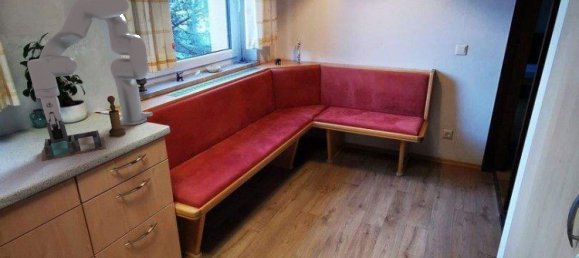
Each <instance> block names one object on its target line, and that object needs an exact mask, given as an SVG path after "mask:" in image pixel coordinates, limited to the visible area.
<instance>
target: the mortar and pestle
mask: <svg viewBox="0 0 579 258" xmlns="http://www.w3.org/2000/svg"><path fill="white" fill-rule="evenodd" d="M106 100H107V102H108V103H109V105H110V106H109V109H110V110H109V111H108V115H109V120H110V125H111V126H110V127H111V128H110V129H109V132H108V133H109V136H110V137H112V138H118V137H119V138H121V137H123V136H126V134H127V132H126V129H125V128H124V127H123V126H122V125H121V122H120V120H121V117H120V111H119V110H118V109H116V105H115V100H116V98H115V96H113V95H108V96H107V99H106Z"/></svg>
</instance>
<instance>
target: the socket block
mask: <svg viewBox="0 0 579 258" xmlns="http://www.w3.org/2000/svg"><path fill="white" fill-rule="evenodd" d="M67 136H68V139H69V142H67V141H63V142H57V143H51V140H50V138H45V139H44V144H43V149H42V154H41V155H42V156H41V161H42V162H46V161H49V160H55V159H59V158H65V157H69V156H74V155H80V154H85V153H90V152H95V151H100V150H101V151H102V150H104V149H105V150H106V149H107V145H106V141H105V139H104V136H100V133H99V130H92V131H85V132H79V133H74V134H69V135H68V134H67Z"/></svg>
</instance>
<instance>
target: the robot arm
mask: <svg viewBox="0 0 579 258" xmlns="http://www.w3.org/2000/svg"><path fill="white" fill-rule="evenodd" d="M129 8H130V4H129V0H74V1H73V2H72V3H71V7H70V8H69V10H68V13H67V15H66V18H65V20H64V23H63V25H62V26H61V28H60V29H59V31H57V32H56V33H55V34H54V35H53V36H52V37H51V38H50V39H49V40H48V41H47V42H46V43H45V44H44V47H43V48H42V50H41V53H40V55H39V58H35V59H30V60H29V61H27V63H26V64H27V69H28V73H29V76H30V79H31V80H30V81H31V82H32V87H33V91H34V94H35V98H36V99H40V102H41V107H42V109H43V112H44V116H45V120H46V119H47V121H46V122H47V124H48V123H50V125H51V129H52V130H51V131H52V135H53V139H54V140H57V139H62V138H63V134H62V130H61V128H60V125H59V121H63V120H64V116H63V111H62V109H61V104H60V101H59V98H58V96H60V94H61V93H60V89H59V86H58V83H57V79H56V77H67V76H71V75H73V74H74V73H76V71H77V69H78V64H77V62H76V60H74V58H72V57H70V56H65V55H63V54H64V53H65V52H66V51H67V50H68V49H70V48H72V47H73V46H75V45H78V44H80V43H81V42H84V40H85V39H86V37H87V35H88V32H89V30H90V27H91V26H92V23H93V21H103V20H104V21H105V23H106V25H107V30H108V31H107V32H108V37H109V38H108V39H109V43H110V49H111V51H112V53H113V54H115V55H119V56H129V57H119V58H115V59H114V60H112V62H111V63H110V72H111V75H112V78H113V81H114V83H115V87H116V91H117V99H118V103H119V107H120V108H119V109H120V114H121V117H122V118H120V122H121V126H137V125H141V124H143V123H145V122H147V120H148V118H147V117H152V116H154V113H153V112H152V111H150V112H149V111H145V112H144V111H143V108H142V102H141V97H140V90H139V85H138V82H137V81H136V80H143V79H146V77H147V76H148V73H149V62H148V53H147V47H146V42H145V41H144V39H143V38H142V37H141V36H139V35H137V34H133V33H132V34H130V30H129V25H128V22H127V19H126V17H125V16H124V15H125V14H126V13H127V12H128V11H129ZM54 115H55V116H54ZM49 120H50V121H49ZM55 120H57V121H55ZM56 123H57V124H56Z"/></svg>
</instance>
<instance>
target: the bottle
mask: <svg viewBox="0 0 579 258" xmlns="http://www.w3.org/2000/svg"><path fill="white" fill-rule="evenodd" d="M54 116H55V115H54ZM45 120H46V122H47V119H46V118H45ZM49 121H50V120H49ZM55 121H57V120H55ZM56 124H57V123H56ZM59 125H60V128H61V130H62V134H63V138H62V139H57V140H54V139H53V135H52V131H51V130H52V129H51V125H50V123H48V122H47V123H46V129H47V132H48V136H49V139H50V140H51V143H57V142H63V141H67V142H69V139H68V136H67V135H68V132H67V128H66V125H65V122H64V121H63V120H62V121H59Z"/></svg>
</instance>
